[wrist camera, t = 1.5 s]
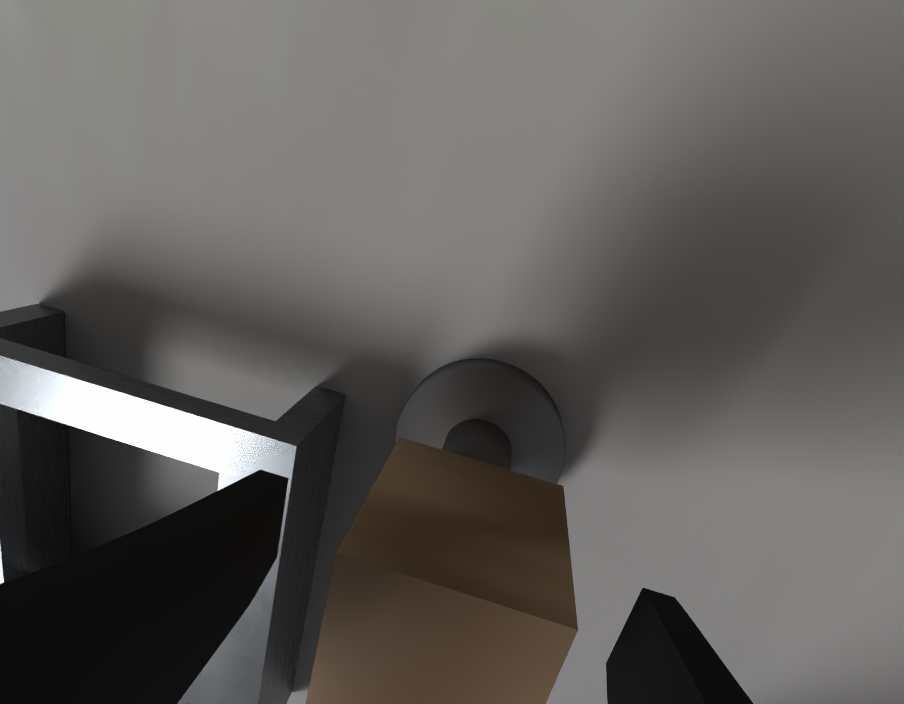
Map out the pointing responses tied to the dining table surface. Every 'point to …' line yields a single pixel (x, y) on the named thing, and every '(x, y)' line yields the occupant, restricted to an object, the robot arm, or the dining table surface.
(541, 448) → the peg
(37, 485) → the notched window frame
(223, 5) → the dining table surface
